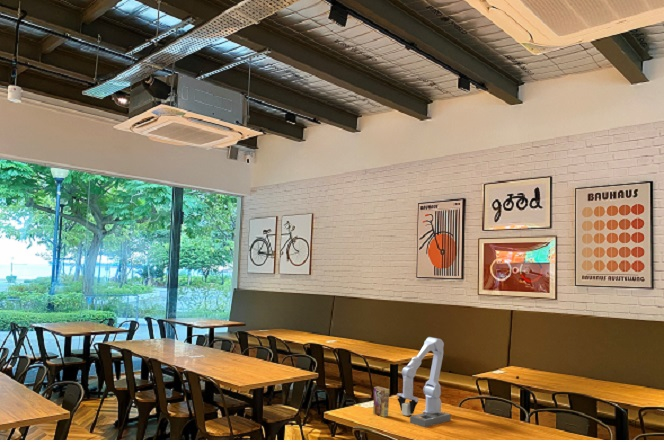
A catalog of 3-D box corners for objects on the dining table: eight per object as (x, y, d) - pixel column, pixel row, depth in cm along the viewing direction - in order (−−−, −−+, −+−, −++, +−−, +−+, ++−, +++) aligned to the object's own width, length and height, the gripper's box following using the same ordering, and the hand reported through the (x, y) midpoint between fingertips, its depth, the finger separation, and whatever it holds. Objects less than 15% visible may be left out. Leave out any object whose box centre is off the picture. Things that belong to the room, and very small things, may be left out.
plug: (407, 413, 304) (407, 402, 305) (412, 415, 301) (413, 403, 302) (401, 415, 301) (402, 403, 302) (406, 416, 298) (407, 405, 299)
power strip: (436, 416, 302) (436, 409, 302) (450, 420, 294) (450, 413, 295) (410, 422, 286) (410, 415, 286) (424, 427, 278) (424, 419, 279)
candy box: (388, 416, 297) (389, 389, 299) (383, 417, 294) (384, 389, 296) (377, 412, 304) (378, 386, 305) (372, 413, 301) (373, 386, 303)
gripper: (394, 386, 305) (393, 410, 304) (413, 391, 295) (412, 415, 293) (401, 385, 310) (401, 408, 309) (421, 389, 299) (420, 414, 298)
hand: (407, 411), depth 301 cm, fingers open, 6 cm apart
